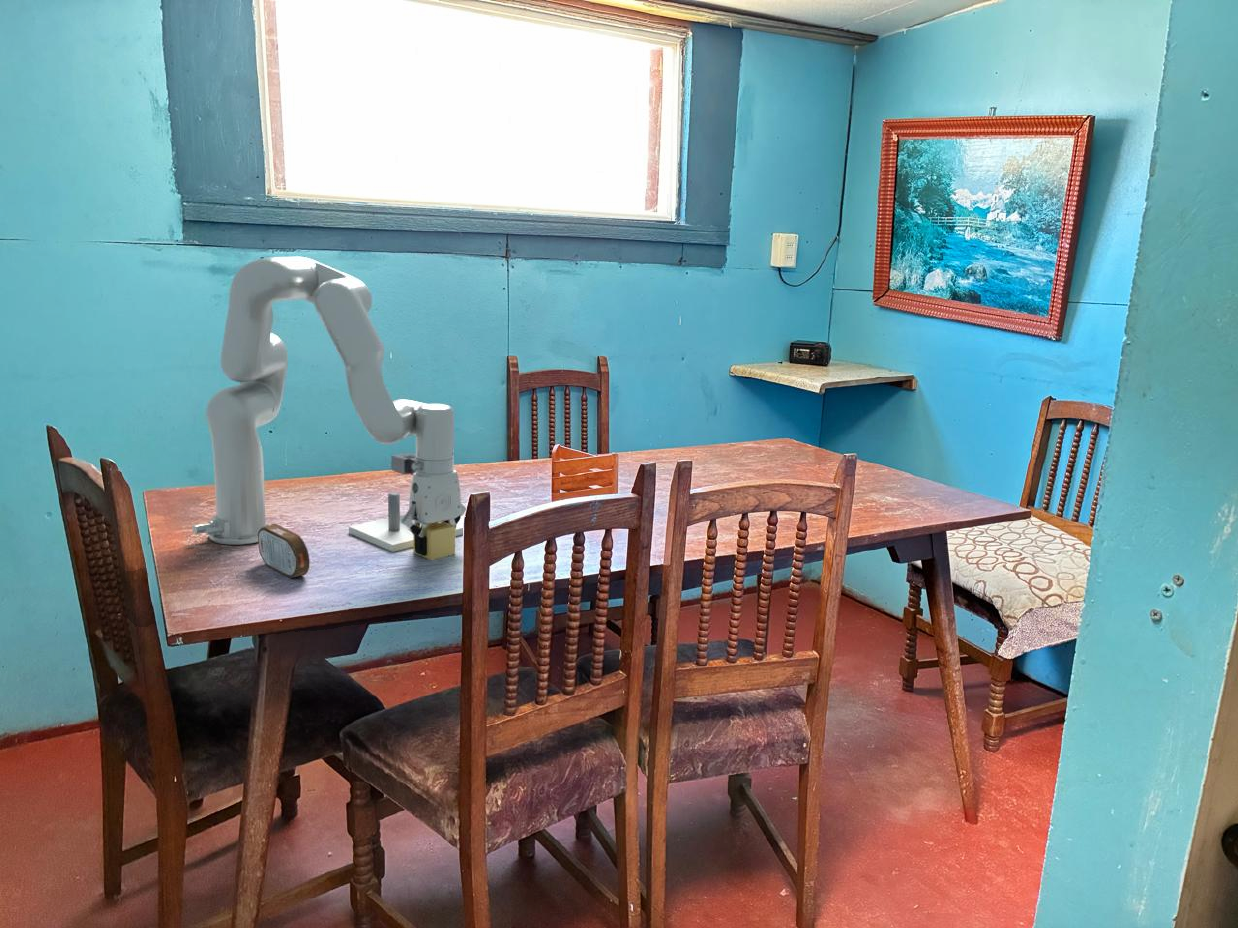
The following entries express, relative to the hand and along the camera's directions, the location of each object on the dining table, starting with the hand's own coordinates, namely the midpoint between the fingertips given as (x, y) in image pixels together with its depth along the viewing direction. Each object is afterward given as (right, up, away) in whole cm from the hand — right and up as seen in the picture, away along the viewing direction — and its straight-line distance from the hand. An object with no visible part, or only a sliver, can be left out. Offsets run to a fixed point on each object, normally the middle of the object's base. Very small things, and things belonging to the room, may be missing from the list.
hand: (434, 549), depth 193 cm
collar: (0, -1, 0) cm, 1 cm away
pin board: (-6, +3, +14) cm, 15 cm away
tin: (-26, -3, -14) cm, 30 cm away
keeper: (-7, +15, +20) cm, 25 cm away
